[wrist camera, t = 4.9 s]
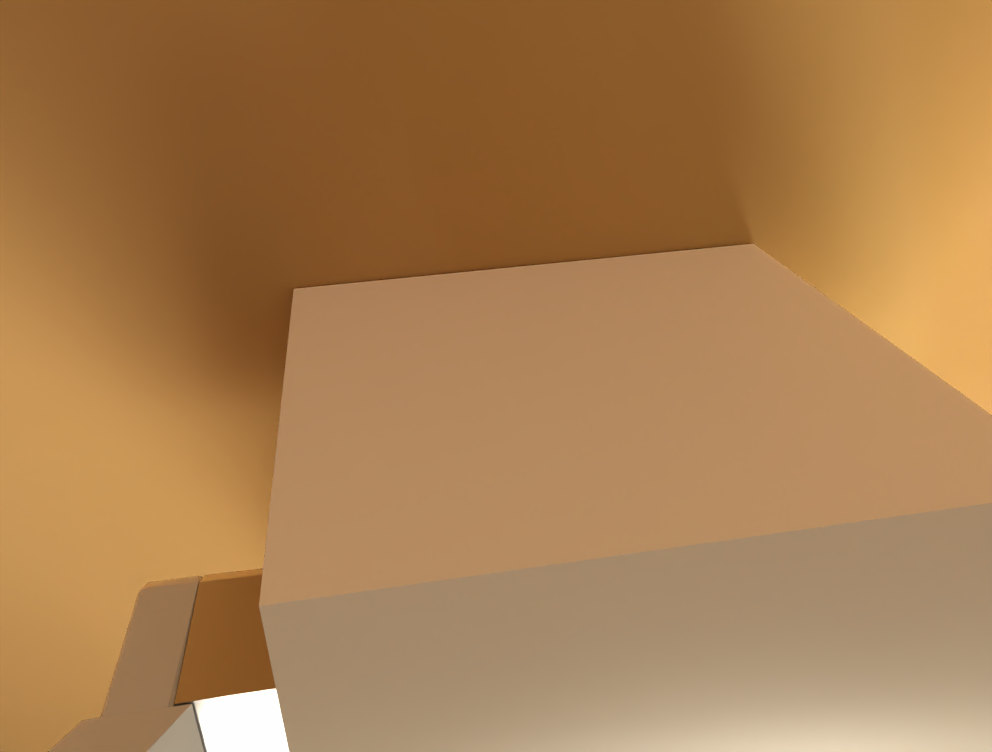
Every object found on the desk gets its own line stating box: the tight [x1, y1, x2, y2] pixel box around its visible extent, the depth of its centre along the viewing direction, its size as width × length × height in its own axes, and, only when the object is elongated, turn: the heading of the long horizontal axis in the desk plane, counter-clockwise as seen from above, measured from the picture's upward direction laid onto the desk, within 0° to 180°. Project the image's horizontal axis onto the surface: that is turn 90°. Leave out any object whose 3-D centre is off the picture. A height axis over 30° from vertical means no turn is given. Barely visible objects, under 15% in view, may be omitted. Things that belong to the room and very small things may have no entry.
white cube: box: [259, 244, 992, 752], centre depth 9 cm, size 5×5×5 cm
